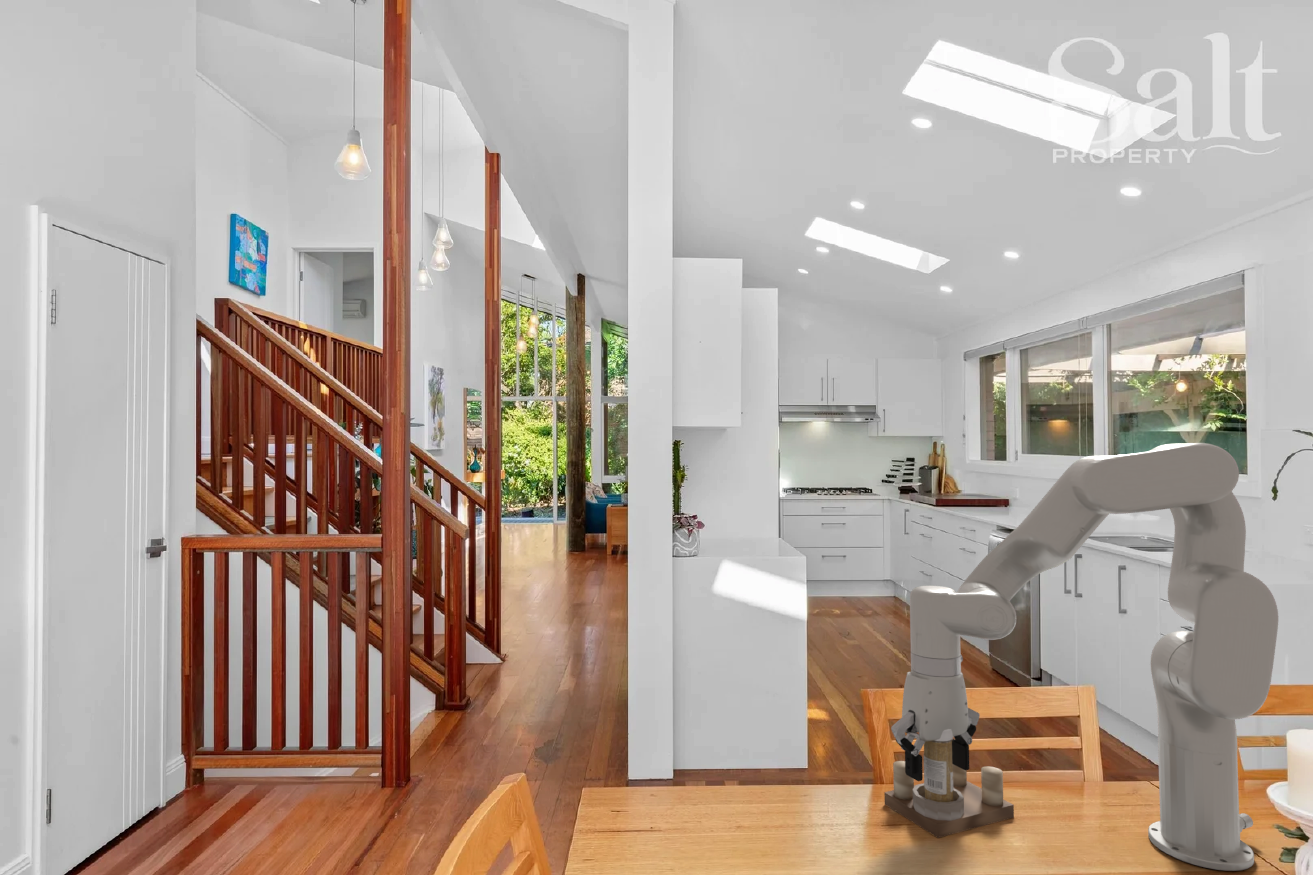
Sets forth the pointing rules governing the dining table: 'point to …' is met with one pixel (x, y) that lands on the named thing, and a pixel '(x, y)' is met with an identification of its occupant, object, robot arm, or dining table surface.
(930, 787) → the sprinkles bottle
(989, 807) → the bottle holder base
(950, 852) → the dining table surface
